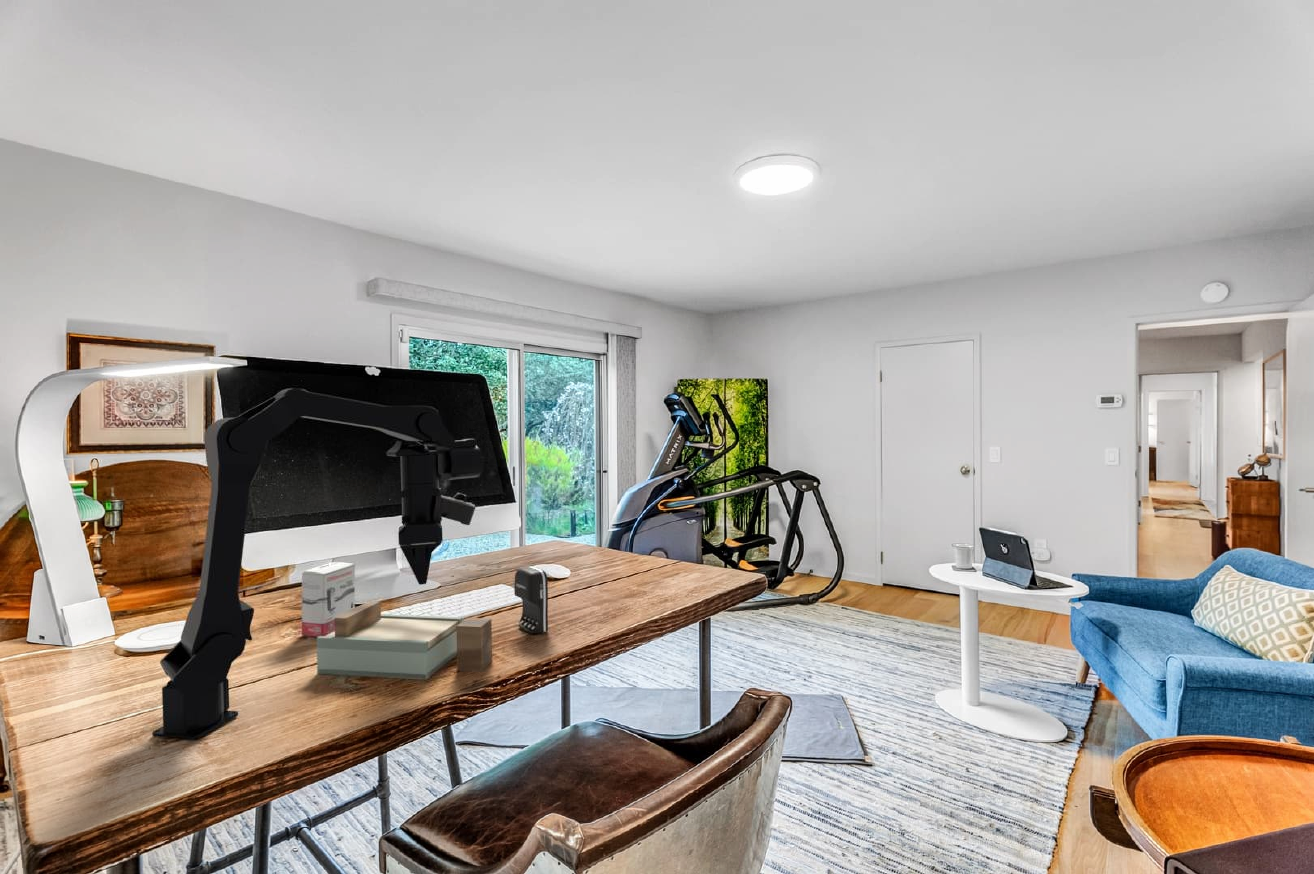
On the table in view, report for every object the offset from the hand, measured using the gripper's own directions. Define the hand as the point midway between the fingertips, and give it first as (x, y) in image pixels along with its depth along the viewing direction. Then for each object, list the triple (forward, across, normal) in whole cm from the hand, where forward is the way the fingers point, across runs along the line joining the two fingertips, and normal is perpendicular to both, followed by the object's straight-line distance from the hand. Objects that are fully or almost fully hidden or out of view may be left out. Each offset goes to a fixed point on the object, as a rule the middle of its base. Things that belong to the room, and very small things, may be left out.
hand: (423, 577), depth 101 cm
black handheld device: (+14, +6, -18) cm, 24 cm away
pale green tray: (+13, 0, +5) cm, 14 cm away
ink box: (+13, +21, +17) cm, 30 cm away
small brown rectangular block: (+13, -7, -7) cm, 17 cm away
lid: (+9, 0, +5) cm, 10 cm away
